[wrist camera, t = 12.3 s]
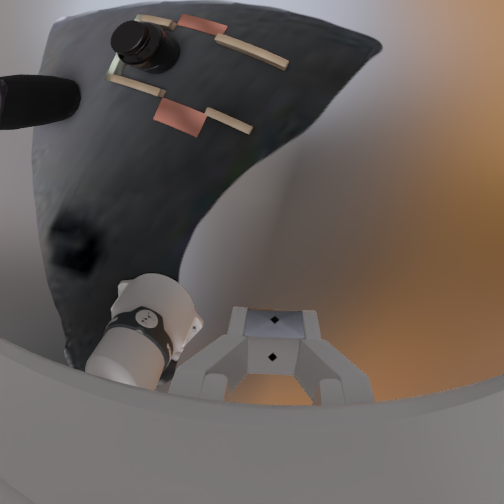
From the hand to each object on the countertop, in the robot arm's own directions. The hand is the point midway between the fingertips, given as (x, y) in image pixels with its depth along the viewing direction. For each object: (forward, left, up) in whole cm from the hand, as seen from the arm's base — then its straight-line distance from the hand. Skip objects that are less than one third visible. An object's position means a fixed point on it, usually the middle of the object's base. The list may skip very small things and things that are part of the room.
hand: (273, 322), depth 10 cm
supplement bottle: (+10, +25, -34) cm, 44 cm away
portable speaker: (-2, +41, -34) cm, 53 cm away
